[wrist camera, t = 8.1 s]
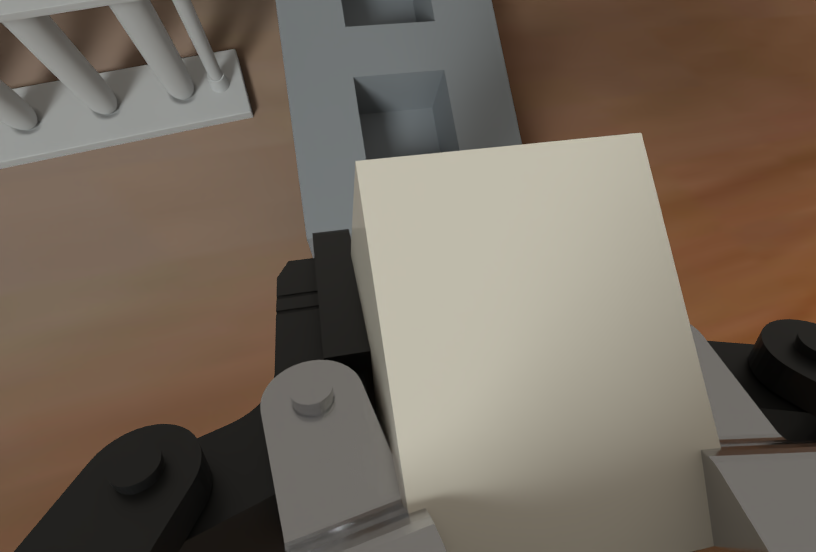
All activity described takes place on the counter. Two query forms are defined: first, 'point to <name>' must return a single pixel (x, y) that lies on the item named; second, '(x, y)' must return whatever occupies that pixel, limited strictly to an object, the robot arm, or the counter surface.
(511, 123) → the grey two-slot holder
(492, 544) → the cream rectangular block
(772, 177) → the counter surface
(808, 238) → the counter surface
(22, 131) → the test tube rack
